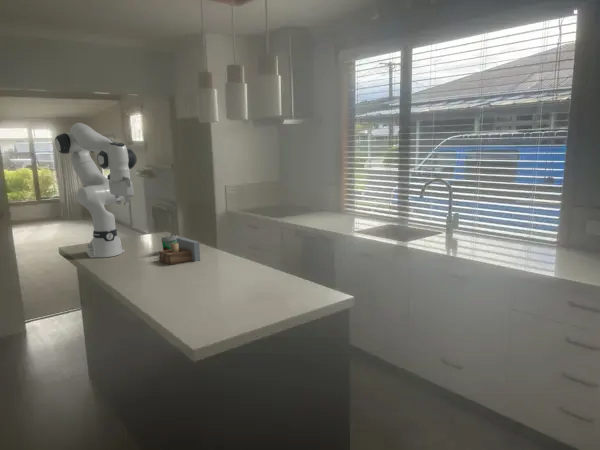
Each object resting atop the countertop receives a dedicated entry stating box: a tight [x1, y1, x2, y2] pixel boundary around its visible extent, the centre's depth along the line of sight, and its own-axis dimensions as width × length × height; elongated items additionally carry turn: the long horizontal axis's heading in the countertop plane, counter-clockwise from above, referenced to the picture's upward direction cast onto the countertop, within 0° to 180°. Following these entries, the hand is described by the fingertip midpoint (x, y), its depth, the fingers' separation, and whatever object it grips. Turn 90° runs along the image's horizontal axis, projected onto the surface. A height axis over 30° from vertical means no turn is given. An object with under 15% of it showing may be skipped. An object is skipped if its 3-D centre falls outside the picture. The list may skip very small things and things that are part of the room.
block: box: [158, 248, 192, 266], centre depth 228 cm, size 12×12×5 cm
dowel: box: [171, 243, 179, 253], centre depth 228 cm, size 4×4×8 cm
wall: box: [177, 236, 201, 262], centre depth 233 cm, size 18×3×10 cm, turn 44°
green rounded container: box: [161, 233, 179, 251], centre depth 245 cm, size 12×6×10 cm, turn 168°
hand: (122, 204), depth 215 cm, fingers open, 8 cm apart
